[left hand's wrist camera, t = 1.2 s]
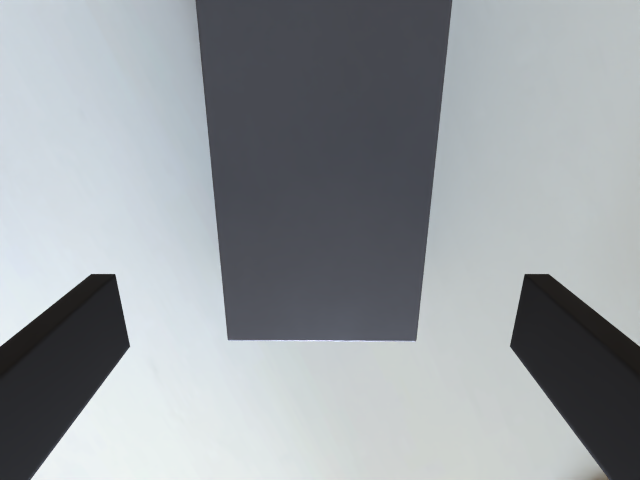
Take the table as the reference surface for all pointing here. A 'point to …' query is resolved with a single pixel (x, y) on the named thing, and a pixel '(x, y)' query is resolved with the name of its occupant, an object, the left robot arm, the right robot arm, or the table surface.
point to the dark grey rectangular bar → (323, 161)
